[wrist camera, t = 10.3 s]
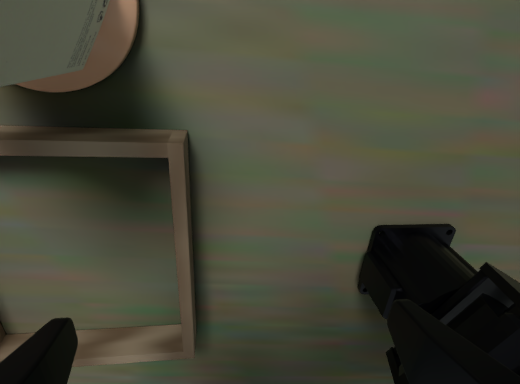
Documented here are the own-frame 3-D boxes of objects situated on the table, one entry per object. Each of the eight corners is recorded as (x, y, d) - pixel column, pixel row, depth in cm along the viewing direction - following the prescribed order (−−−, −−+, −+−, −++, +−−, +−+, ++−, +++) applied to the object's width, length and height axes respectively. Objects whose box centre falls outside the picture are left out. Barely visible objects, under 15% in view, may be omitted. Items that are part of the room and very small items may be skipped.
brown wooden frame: (187, 130, 18) (183, 143, 16) (196, 330, 26) (194, 357, 23) (-108, 122, 16) (-160, 136, 14) (-3, 342, 24) (-25, 374, 21)
